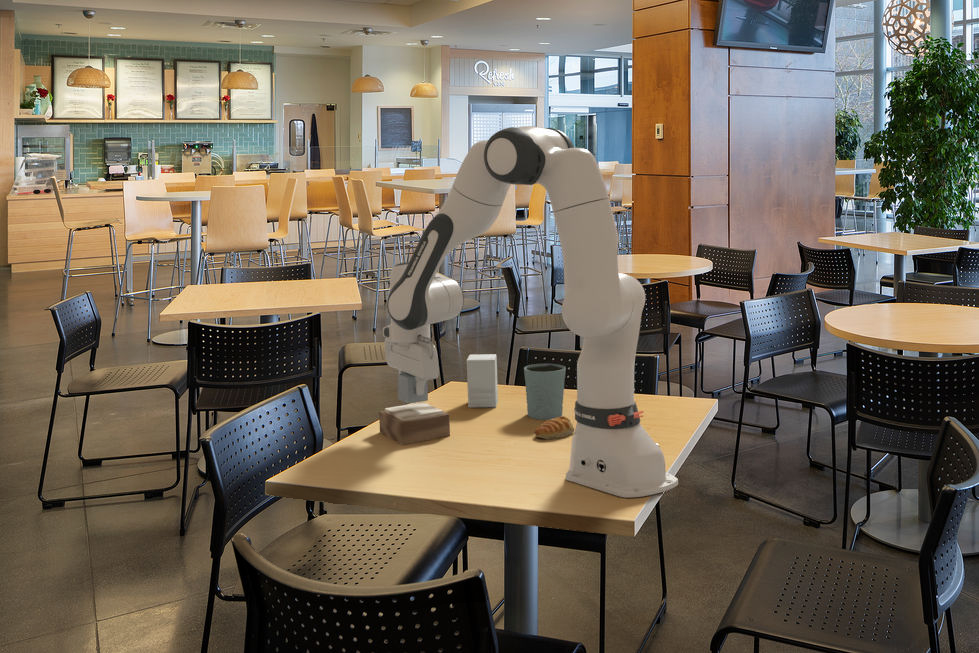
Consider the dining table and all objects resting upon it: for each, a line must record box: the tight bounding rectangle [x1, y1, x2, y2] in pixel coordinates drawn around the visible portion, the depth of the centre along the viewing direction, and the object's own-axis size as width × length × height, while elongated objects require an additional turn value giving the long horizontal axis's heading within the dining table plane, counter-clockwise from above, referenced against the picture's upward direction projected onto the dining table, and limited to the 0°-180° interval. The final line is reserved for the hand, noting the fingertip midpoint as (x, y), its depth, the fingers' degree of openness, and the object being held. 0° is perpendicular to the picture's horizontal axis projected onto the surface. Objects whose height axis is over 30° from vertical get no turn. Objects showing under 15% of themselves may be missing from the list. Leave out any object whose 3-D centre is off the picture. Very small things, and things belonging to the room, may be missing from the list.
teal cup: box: [523, 363, 567, 421], centre depth 219 cm, size 10×10×12 cm
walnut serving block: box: [378, 401, 451, 445], centre depth 205 cm, size 12×12×6 cm
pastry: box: [534, 415, 575, 440], centre depth 203 cm, size 9×7×4 cm
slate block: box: [397, 373, 429, 405], centre depth 204 cm, size 5×5×6 cm
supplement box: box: [466, 353, 499, 408], centre depth 230 cm, size 7×7×13 cm
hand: (412, 391), depth 204 cm, fingers closed on slate block, 5 cm apart
